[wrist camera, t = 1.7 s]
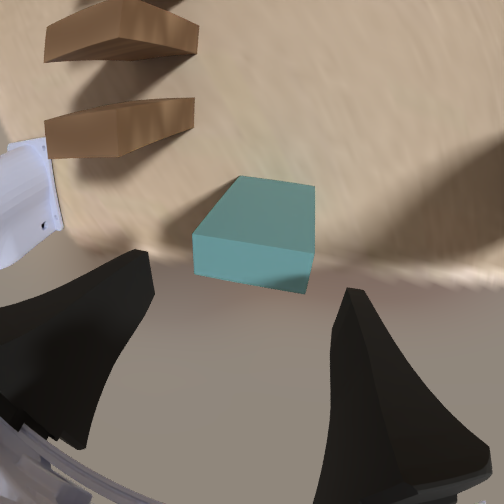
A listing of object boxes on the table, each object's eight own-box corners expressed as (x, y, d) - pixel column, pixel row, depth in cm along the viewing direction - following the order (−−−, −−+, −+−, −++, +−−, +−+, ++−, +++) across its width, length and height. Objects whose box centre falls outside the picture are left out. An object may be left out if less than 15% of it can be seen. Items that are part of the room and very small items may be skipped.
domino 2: (193, 127, 17) (118, 157, 10) (132, 127, 17) (48, 159, 11) (194, 97, 15) (116, 109, 9) (131, 100, 16) (44, 120, 9)
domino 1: (197, 53, 14) (118, 37, 7) (132, 61, 14) (43, 63, 8) (199, 26, 13) (123, -6, 6) (134, 35, 13) (46, 26, 7)
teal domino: (310, 214, 18) (305, 294, 12) (238, 203, 19) (194, 274, 12) (314, 186, 17) (314, 253, 10) (239, 175, 18) (192, 234, 11)
